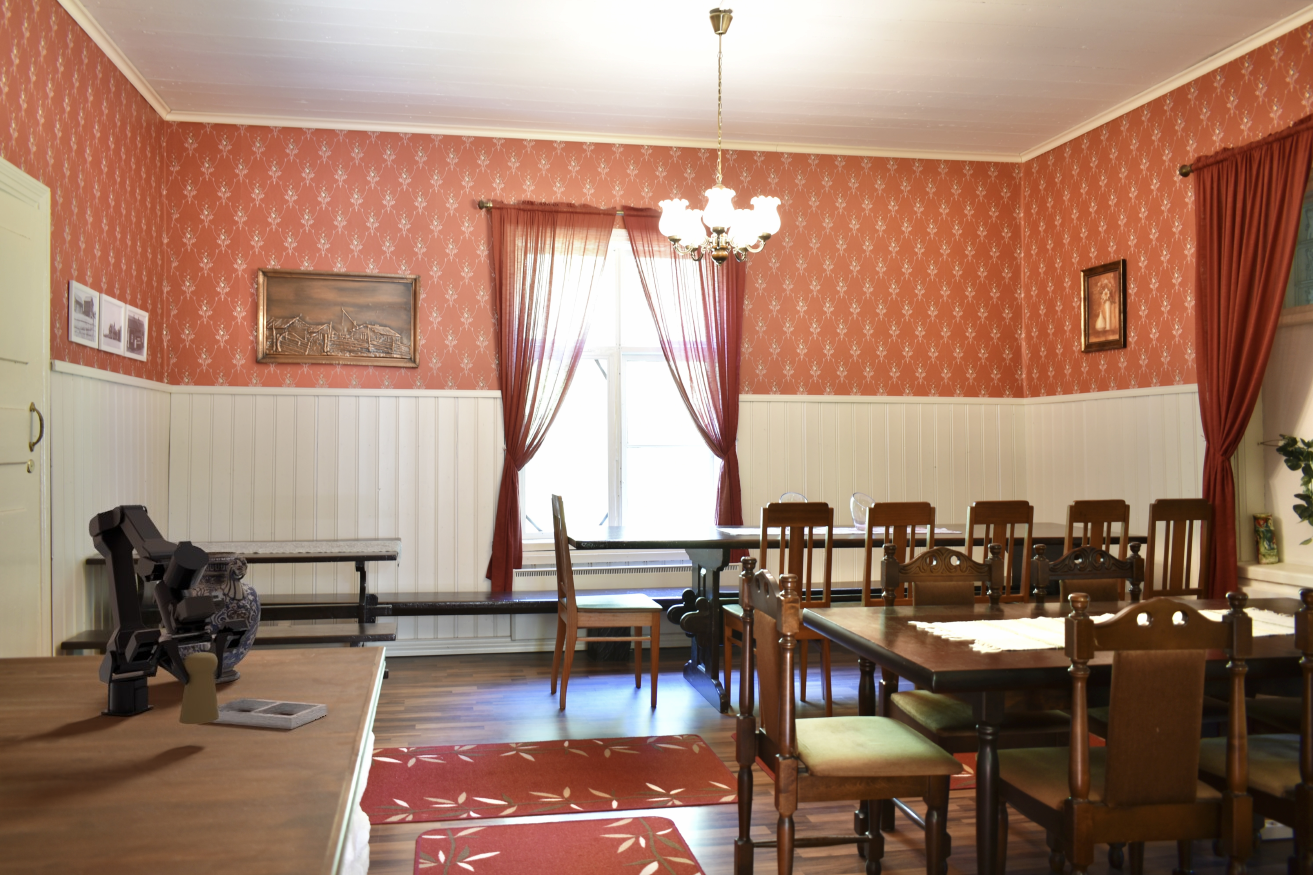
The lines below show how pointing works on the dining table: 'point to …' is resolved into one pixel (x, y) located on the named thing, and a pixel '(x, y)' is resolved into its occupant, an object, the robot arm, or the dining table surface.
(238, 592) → the decorative vase
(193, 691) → the cork
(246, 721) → the grey divided tray
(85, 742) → the dining table surface
